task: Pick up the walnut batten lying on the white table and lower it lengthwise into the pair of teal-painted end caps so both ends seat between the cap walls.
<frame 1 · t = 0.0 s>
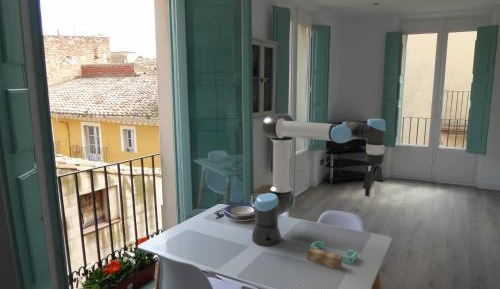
hand: (372, 199, 162), 28 cm above the table, fingers open, 13 cm apart
batten: (324, 263, 160), on the table
endcap rail: (332, 254, 167), on the table
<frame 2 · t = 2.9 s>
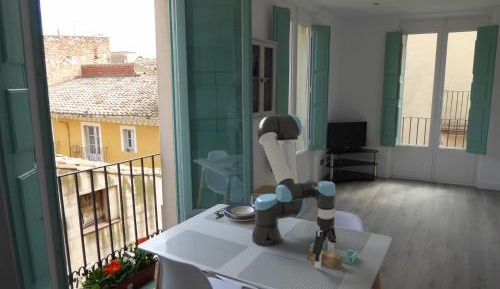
hand: (324, 261, 160), 1 cm above the table, fingers open, 13 cm apart
nothing on the table moved.
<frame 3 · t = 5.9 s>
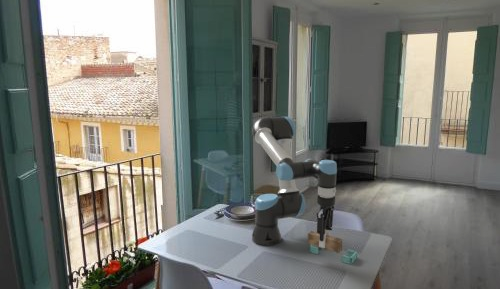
hand: (324, 245, 159), 8 cm above the table, fingers closed on batten, 3 cm apart
batten: (324, 246, 159), point 8 cm above the table, touching gripper
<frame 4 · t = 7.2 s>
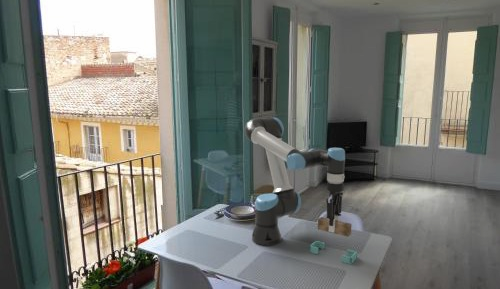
hand: (333, 230, 165), 12 cm above the table, fingers closed on batten, 3 cm apart
batten: (334, 231, 165), point 12 cm above the table, touching gripper
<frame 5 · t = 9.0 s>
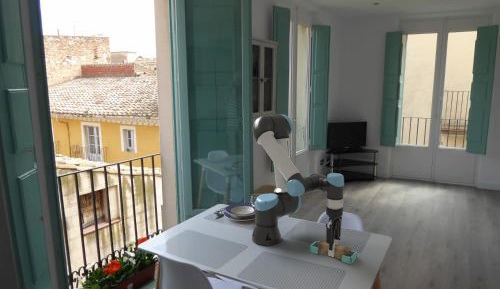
hand: (333, 254, 167), 0 cm above the table, fingers closed on batten, 3 cm apart
batten: (333, 255, 167), on the table, touching gripper
when the fingers open (0 cm above the table, at t = 10.4 s): batten stays where it is, on the table.
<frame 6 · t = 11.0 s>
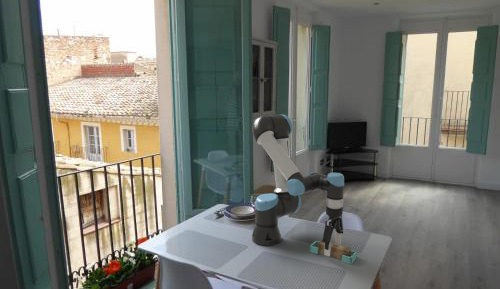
hand: (332, 250, 167), 2 cm above the table, fingers open, 11 cm apart
batten: (333, 255, 167), on the table
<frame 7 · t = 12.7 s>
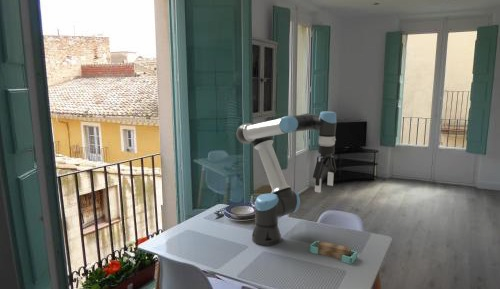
hand: (324, 188, 169), 31 cm above the table, fingers open, 13 cm apart
nothing on the table moved.
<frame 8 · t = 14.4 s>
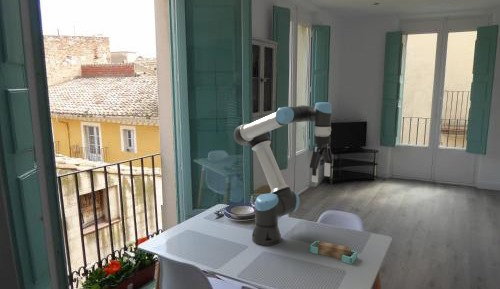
hand: (321, 179, 170), 35 cm above the table, fingers open, 13 cm apart
nothing on the table moved.
at the end: batten 0.6 cm off-centre on the endcap rail, point 0.0 cm above the endcap rail's base; batten tilted 0°; the gripper is holding nothing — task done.
